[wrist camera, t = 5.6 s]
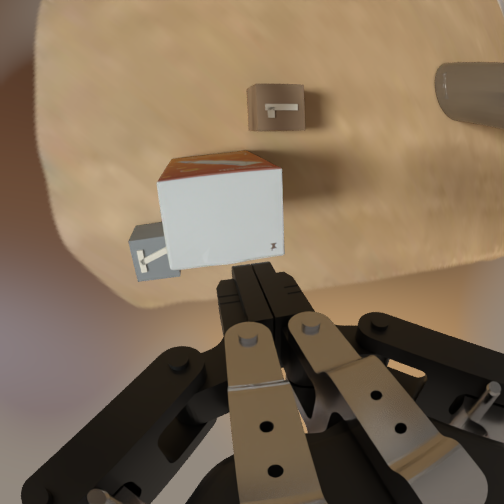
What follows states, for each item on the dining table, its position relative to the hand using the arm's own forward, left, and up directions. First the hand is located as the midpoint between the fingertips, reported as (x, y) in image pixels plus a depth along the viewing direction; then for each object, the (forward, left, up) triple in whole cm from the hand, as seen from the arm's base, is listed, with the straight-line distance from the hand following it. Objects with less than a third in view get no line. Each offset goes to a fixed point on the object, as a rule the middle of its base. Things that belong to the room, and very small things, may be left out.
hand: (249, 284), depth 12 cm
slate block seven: (+7, +6, -21) cm, 23 cm away
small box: (0, 0, -21) cm, 21 cm away
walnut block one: (-6, -8, -21) cm, 23 cm away
